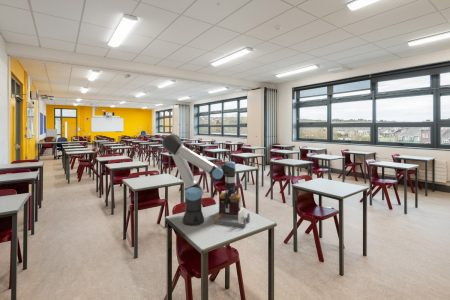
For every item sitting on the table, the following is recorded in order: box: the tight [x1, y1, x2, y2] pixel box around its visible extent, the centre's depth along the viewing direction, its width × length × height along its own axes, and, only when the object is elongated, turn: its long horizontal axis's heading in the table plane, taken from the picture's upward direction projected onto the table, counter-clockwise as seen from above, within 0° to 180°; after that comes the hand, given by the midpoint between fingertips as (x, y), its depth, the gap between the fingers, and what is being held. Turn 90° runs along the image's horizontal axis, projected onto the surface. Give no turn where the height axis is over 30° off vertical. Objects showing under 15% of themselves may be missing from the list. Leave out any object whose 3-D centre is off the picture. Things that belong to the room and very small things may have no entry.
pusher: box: [238, 207, 247, 223], centre depth 170 cm, size 4×11×9 cm, turn 158°
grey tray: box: [212, 213, 251, 229], centre depth 173 cm, size 23×13×6 cm, turn 68°
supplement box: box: [218, 192, 242, 216], centre depth 187 cm, size 10×15×16 cm
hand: (230, 209), depth 188 cm, fingers closed on supplement box, 11 cm apart
